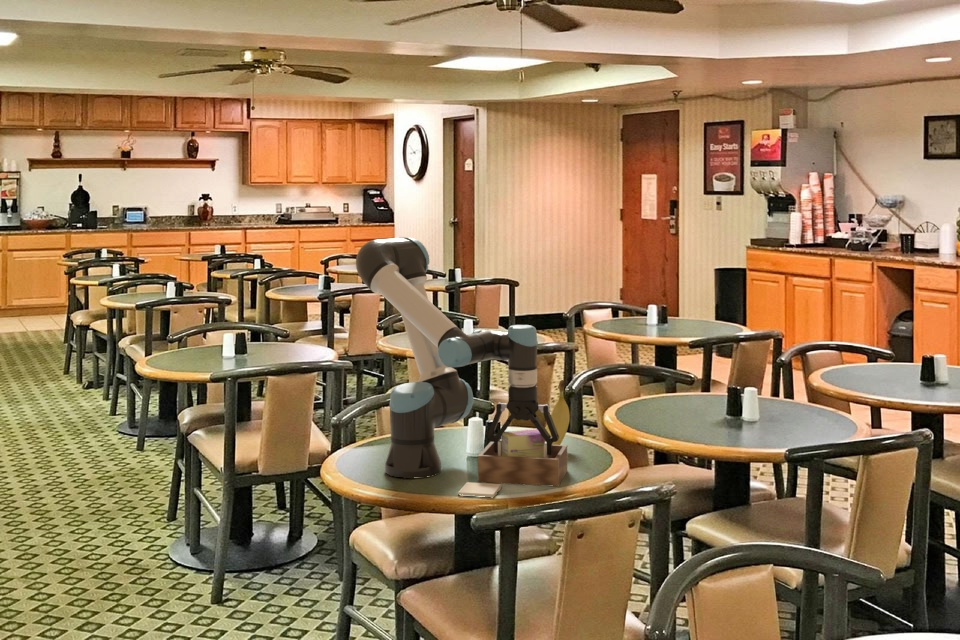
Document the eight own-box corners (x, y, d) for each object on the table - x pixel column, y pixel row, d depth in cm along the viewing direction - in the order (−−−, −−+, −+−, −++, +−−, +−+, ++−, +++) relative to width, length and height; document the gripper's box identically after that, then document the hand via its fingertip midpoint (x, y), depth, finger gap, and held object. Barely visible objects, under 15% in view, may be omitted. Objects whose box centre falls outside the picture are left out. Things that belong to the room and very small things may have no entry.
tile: (458, 496, 266) (458, 492, 266) (466, 485, 275) (466, 482, 275) (493, 498, 264) (493, 494, 264) (501, 487, 273) (501, 484, 273)
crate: (478, 482, 278) (477, 455, 277) (490, 466, 293) (490, 441, 292) (558, 486, 273) (558, 459, 273) (567, 470, 288) (567, 445, 287)
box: (537, 471, 287) (537, 428, 286) (545, 476, 282) (545, 433, 280) (500, 475, 284) (500, 431, 283) (508, 480, 279) (507, 436, 277)
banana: (534, 465, 294) (533, 393, 291) (516, 462, 297) (515, 391, 294) (574, 447, 312) (574, 379, 310) (556, 444, 316) (556, 378, 313)
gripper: (474, 385, 279) (475, 467, 282) (565, 389, 273) (565, 472, 276) (481, 380, 286) (482, 459, 289) (570, 383, 281) (570, 464, 284)
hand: (523, 465), depth 283 cm, fingers closed on box, 11 cm apart
